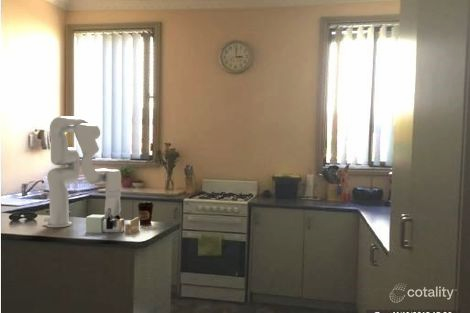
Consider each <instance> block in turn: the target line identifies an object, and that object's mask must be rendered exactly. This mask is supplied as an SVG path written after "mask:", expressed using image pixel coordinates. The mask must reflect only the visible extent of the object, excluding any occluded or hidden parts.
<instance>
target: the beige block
mask: <svg viewBox="0 0 470 313" xmlns="http://www.w3.org/2000/svg"><path fill="white" fill-rule="evenodd" d="M139 231H140V221H139V216H136V217H134V218H133V219H130V222H129V223H124V234H125V235H135V234H136V233H137V232H139Z"/></svg>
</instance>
